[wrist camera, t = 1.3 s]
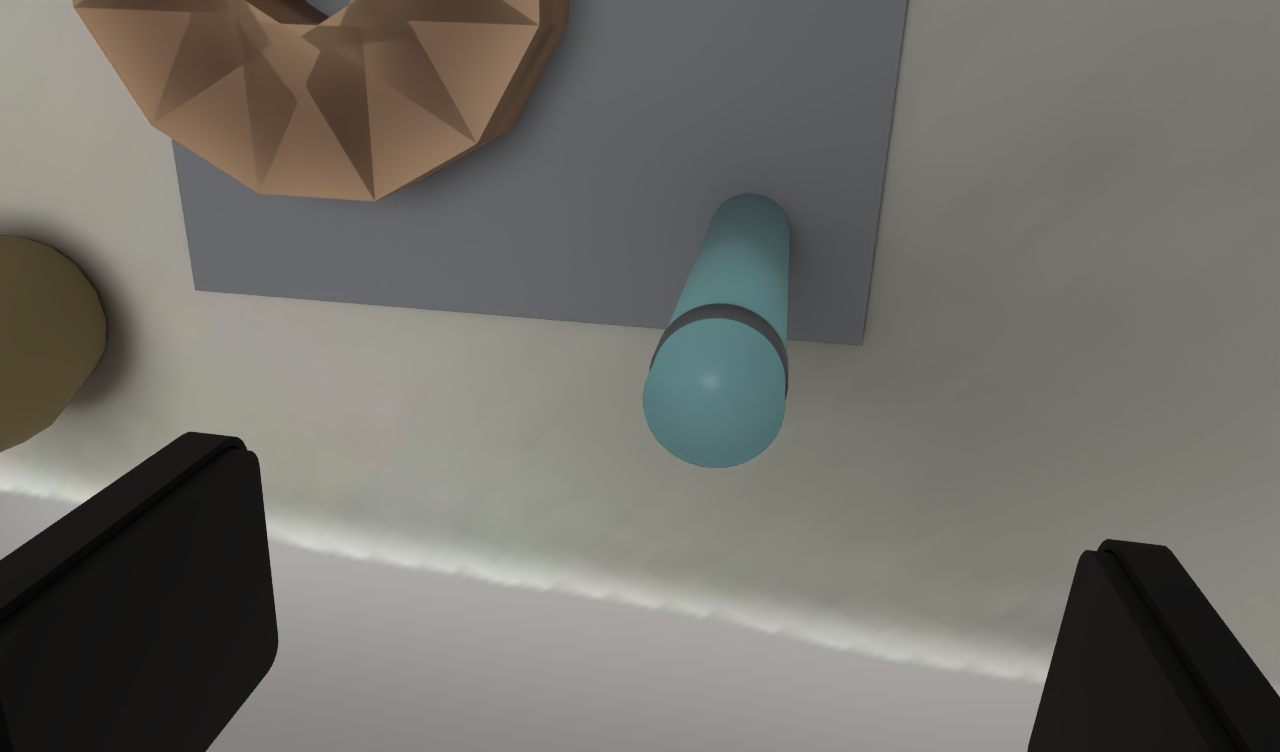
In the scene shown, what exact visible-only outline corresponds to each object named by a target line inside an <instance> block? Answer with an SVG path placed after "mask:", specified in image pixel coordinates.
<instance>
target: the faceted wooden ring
mask: <svg viewBox="0 0 1280 752" xmlns="http://www.w3.org/2000/svg"><path fill="white" fill-rule="evenodd" d="M73 6H74V8H75V10H76V11H77V13H78V14H79V16H80V17H81V19H82V21H83V22H84V24H85V25H86V27H87V28H88V30H89V31H90V33H91V34H92V36H93V37H94V39H95V40H96V42H97V43H98V45H99V46H100V48H101V49H102V51H103V52H104V54H105V55H106V57H107V59H108V60H109V62H110V63H111V65H112V66H113V68H114V69H115V71H116V72H117V74H118V75H119V77H120V78H121V80H122V81H123V83H124V84H125V86H126V87H127V89H128V90H129V92H130V93H131V95H132V97H133V98H134V100H135V101H136V103H137V104H138V106H139V107H140V109H141V110H142V112H143V113H144V115H145V116H146V118H147V119H148V121H149V122H150V124H151V125H152V126H154V127H155V128H157V129H158V130H160V131H161V132H163V133H165V134H166V135H168V136H169V137H171V138H172V139H174V140H176V141H177V142H179V143H180V144H182V145H183V146H185V147H186V148H188V149H190V150H191V151H193V152H194V153H196V154H197V155H199V156H201V157H202V158H204V159H205V160H207V161H208V162H210V163H212V164H213V165H215V166H216V167H218V168H219V169H221V170H222V171H224V172H226V173H227V174H229V175H230V176H232V177H233V178H235V179H237V180H238V181H240V182H241V183H243V184H244V185H246V186H248V187H249V188H251V189H252V190H254V191H255V192H257V193H259V194H271V195H286V196H301V197H316V198H331V199H346V200H361V201H377V200H379V199H382V198H384V197H386V196H388V195H391V194H393V193H395V192H397V191H399V190H402V189H404V188H406V187H408V186H410V185H413V184H415V183H417V182H419V181H421V180H423V179H424V178H426V177H428V176H430V175H431V174H433V173H435V172H437V171H439V170H440V169H442V168H444V167H446V166H447V165H449V164H451V163H453V162H454V161H456V160H458V159H460V158H462V157H463V156H465V155H467V154H469V153H470V152H472V151H474V150H476V149H477V148H479V147H481V146H483V145H485V144H486V143H488V142H490V141H492V140H493V139H495V138H497V137H499V136H501V135H502V134H504V133H506V132H508V131H509V130H511V129H512V128H513V126H514V124H515V122H516V120H517V118H518V117H519V115H520V113H521V111H522V109H523V107H524V105H525V104H526V102H527V100H528V98H529V96H530V94H531V93H532V91H533V89H534V87H535V85H536V83H537V81H538V80H539V78H540V76H541V74H542V72H543V70H544V68H545V67H546V65H547V63H548V61H549V59H550V57H551V56H552V54H553V52H554V50H555V48H556V46H557V44H558V43H559V41H560V39H561V37H562V35H563V33H564V32H565V30H566V28H567V26H568V24H569V0H351V1H350V3H349V5H348V6H346V7H345V8H343V9H342V10H340V11H339V12H337V13H336V14H334V15H333V16H331V17H328V16H327V15H325V14H324V13H322V12H321V11H319V10H318V9H316V8H315V7H313V6H312V5H310V4H309V3H307V2H306V0H73Z"/></svg>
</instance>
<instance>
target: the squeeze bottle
mask: <svg viewBox="0 0 1280 752" xmlns="http://www.w3.org/2000/svg"><path fill="white" fill-rule="evenodd" d="M106 321H107V320H106V318H105V315H104V312H103V309H102V306H101V303H100V301H99V298H98V295H97V292H96V290H95V289H94V288H93V287H92V285H91V284H90V283H89V281H88V280H87V279H86V277H85V276H84V275H83V273H82V272H81V271H80V269H79V268H78V267H77V265H75V264H74V263H73V262H71V261H70V260H68V259H67V258H66V257H64V256H63V255H62V254H60V253H59V252H57V251H56V250H55V249H53V248H52V247H51V246H48V245H45V244H42V243H38V242H35V241H32V240H29V239H25V238H22V237H13V236H4V235H0V452H2V451H4V450H6V449H9V448H11V447H13V446H16V445H18V444H21V443H23V442H25V441H26V440H28V439H30V438H31V437H33V436H34V435H36V434H38V433H39V432H41V431H43V430H44V429H46V428H47V427H49V426H51V425H52V424H53V422H54V421H55V420H56V418H57V417H58V416H59V414H60V413H61V412H62V411H63V409H64V408H65V407H66V405H67V404H68V403H69V401H70V400H71V399H72V398H73V396H74V395H75V394H76V392H77V391H78V390H79V389H80V387H81V386H82V385H83V383H84V382H85V381H86V379H87V378H88V377H89V376H90V374H91V373H92V372H93V370H94V369H95V367H96V366H97V364H98V362H99V360H100V358H101V356H102V354H103V352H104V350H105V348H106Z"/></svg>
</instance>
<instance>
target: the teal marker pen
mask: <svg viewBox="0 0 1280 752" xmlns="http://www.w3.org/2000/svg"><path fill="white" fill-rule="evenodd" d="M789 241H790V228H789V223H788V219H787V217H786V215H785V213H784V211H783V210H782V209H781V207H780V206H779V205H778V204H777V203H776V202H774V201H773V200H772V199H770V198H768V197H766V196H763V195H760V194H755V193H745V194H739V195H736V196H734V197H731V198H730V199H728V200H726V201H725V202H724V203H722V204H721V205H720V206H719V208H718V209H717V210H716V212H715V213H714V215H713V217H712V220H711V222H710V224H709V227H708V229H707V232H706V234H705V237H704V239H703V242H702V244H701V247H700V249H699V252H698V254H697V256H696V259H695V261H694V264H693V266H692V269H691V271H690V274H689V276H688V279H687V281H686V284H685V286H684V289H683V291H682V293H681V296H680V298H679V301H678V303H677V306H676V308H675V311H674V313H673V316H672V318H671V321H670V323H669V326H668V328H667V329H666V330H665V332H664V334H663V335H662V337H661V339H660V341H659V344H658V346H657V349H656V351H655V353H654V356H653V358H652V361H651V365H650V371H649V375H648V377H647V380H646V383H645V387H644V392H643V408H644V414H645V417H646V421H647V423H648V426H649V428H650V430H651V431H652V433H653V435H654V436H655V438H656V439H657V440H658V441H659V442H660V444H661V445H662V446H663V447H664V448H665V449H667V450H668V451H669V452H670V453H672V454H673V455H675V456H676V457H678V458H680V459H682V460H684V461H686V462H688V463H691V464H694V465H698V466H703V467H709V468H723V467H730V466H735V465H739V464H742V463H744V462H747V461H749V460H751V459H753V458H754V457H756V456H757V455H759V454H760V453H761V452H763V451H764V450H765V449H766V448H767V447H768V446H769V445H770V444H771V443H772V441H773V440H774V438H775V437H776V435H777V433H778V431H779V429H780V427H781V424H782V421H783V417H784V411H785V399H786V396H787V390H788V357H787V353H786V344H787V310H788V276H789Z"/></svg>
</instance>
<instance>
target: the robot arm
mask: <svg viewBox="0 0 1280 752" xmlns="http://www.w3.org/2000/svg"><path fill="white" fill-rule="evenodd" d="M277 648H278V631H277V623H276V613H275V604H274V595H273V585H272V577H271V567H270V558H269V549H268V539H267V530H266V521H265V512H264V503H263V493H262V484H261V475H260V466H259V461H258V458H257V456H256V454H255V453H254V452H252V451H248V450H247V448H246V446H245V444H244V442H243V441H242V440H241V439H239V438H238V437H232V436H224V435H215V434H207V433H198V432H188V433H185V434H183V435H181V436H180V437H178V438H177V439H175V440H174V441H173V442H171V443H170V444H168V445H167V446H165V447H164V448H162V449H161V450H160V451H158V452H157V453H155V454H154V455H152V456H151V457H149V458H148V459H146V460H145V461H144V462H142V463H141V464H139V465H138V466H136V467H135V468H133V469H132V470H131V471H129V472H128V473H126V474H125V475H123V476H122V477H120V478H119V479H117V480H116V481H115V482H113V483H112V484H110V485H109V486H107V487H106V488H104V489H103V490H102V491H100V492H99V493H97V494H96V495H94V496H93V497H91V498H90V499H89V500H87V501H86V502H84V503H83V504H81V505H80V506H78V507H77V508H76V509H74V510H73V511H71V512H70V513H68V514H67V515H65V516H64V517H62V518H61V519H60V520H58V521H57V522H55V523H54V524H52V525H51V526H49V527H48V528H47V529H45V530H44V531H42V532H41V533H39V534H38V535H36V536H35V537H33V538H32V539H31V540H29V541H28V542H26V543H25V544H23V545H22V546H20V547H19V548H18V549H16V550H15V551H13V552H12V553H10V554H9V555H7V556H6V557H5V558H3V559H2V560H0V752H205V751H206V750H207V749H208V748H209V746H210V745H211V744H212V743H213V741H214V740H215V739H216V738H217V736H218V735H219V734H220V732H221V731H222V730H223V729H224V727H225V726H226V725H227V724H228V722H229V721H230V720H231V718H232V717H233V716H234V715H235V713H236V712H237V710H239V708H240V707H241V706H242V704H243V703H244V702H245V701H246V699H247V698H248V697H249V696H250V694H251V693H252V692H253V691H254V689H255V688H256V687H257V685H258V684H259V683H260V682H261V680H262V679H263V678H264V676H265V675H266V674H267V673H268V671H269V670H270V668H271V667H272V664H273V662H274V659H275V657H276V653H277ZM1028 752H1280V697H1279V695H1278V694H1277V693H1276V691H1275V690H1274V689H1273V687H1272V686H1271V685H1270V683H1269V682H1268V681H1267V679H1266V678H1265V676H1264V675H1263V674H1262V672H1261V671H1260V670H1259V668H1258V667H1257V666H1256V664H1255V663H1254V662H1253V660H1252V659H1251V658H1250V656H1249V655H1248V654H1247V652H1246V651H1245V650H1244V648H1243V647H1242V646H1241V644H1240V643H1239V642H1238V640H1237V639H1236V637H1235V636H1234V635H1233V633H1232V632H1231V631H1230V629H1229V628H1228V627H1227V625H1226V624H1225V623H1224V621H1223V620H1222V619H1221V617H1220V616H1219V615H1218V613H1217V612H1216V611H1215V609H1214V608H1213V607H1212V605H1211V604H1210V603H1209V601H1208V600H1207V598H1206V597H1205V596H1204V594H1203V593H1202V592H1201V590H1200V589H1199V588H1198V586H1197V585H1196V584H1195V582H1194V581H1193V580H1192V578H1191V577H1190V576H1189V574H1188V573H1187V572H1186V570H1185V569H1184V568H1183V566H1182V565H1181V564H1180V562H1179V561H1178V559H1177V558H1176V557H1175V555H1174V554H1173V553H1172V551H1171V550H1169V549H1168V548H1167V547H1166V546H1162V545H1154V544H1146V543H1137V542H1129V541H1120V540H1112V539H1107V540H1105V541H1103V542H1102V544H1101V545H1100V546H1099V548H1098V550H1097V551H1091V550H1086V551H1084V552H1083V553H1082V555H1081V556H1080V559H1079V561H1078V564H1077V568H1076V572H1075V575H1074V579H1073V583H1072V586H1071V590H1070V594H1069V597H1068V601H1067V605H1066V609H1065V612H1064V616H1063V620H1062V623H1061V627H1060V631H1059V634H1058V638H1057V642H1056V645H1055V649H1054V653H1053V656H1052V660H1051V664H1050V668H1049V671H1048V675H1047V679H1046V682H1045V686H1044V690H1043V693H1042V697H1041V701H1040V704H1039V708H1038V712H1037V716H1036V720H1035V723H1034V727H1033V731H1032V734H1031V738H1030V741H1029V746H1028Z"/></svg>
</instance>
